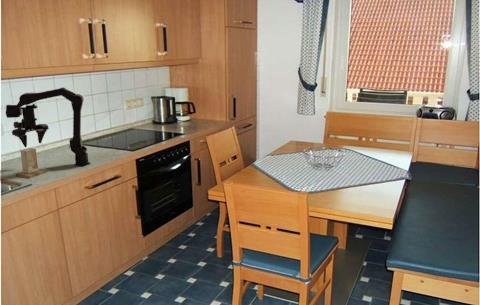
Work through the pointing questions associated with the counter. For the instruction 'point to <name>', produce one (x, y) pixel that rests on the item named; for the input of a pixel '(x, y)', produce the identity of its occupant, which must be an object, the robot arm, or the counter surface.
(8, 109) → the robot arm
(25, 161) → the skincare box
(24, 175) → the brown flat square block
